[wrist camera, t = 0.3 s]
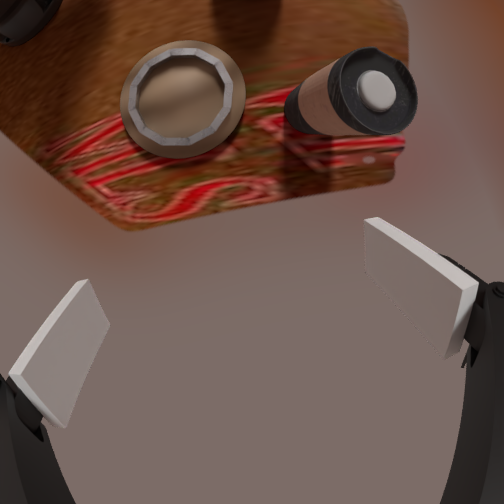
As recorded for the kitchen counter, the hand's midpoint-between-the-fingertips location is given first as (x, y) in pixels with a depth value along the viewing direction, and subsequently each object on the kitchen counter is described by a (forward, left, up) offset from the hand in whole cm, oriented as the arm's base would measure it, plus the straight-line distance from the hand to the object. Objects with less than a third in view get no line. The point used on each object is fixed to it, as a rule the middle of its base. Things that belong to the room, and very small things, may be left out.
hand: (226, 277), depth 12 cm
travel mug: (-4, +15, -29) cm, 33 cm away
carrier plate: (-13, 0, -28) cm, 31 cm away
